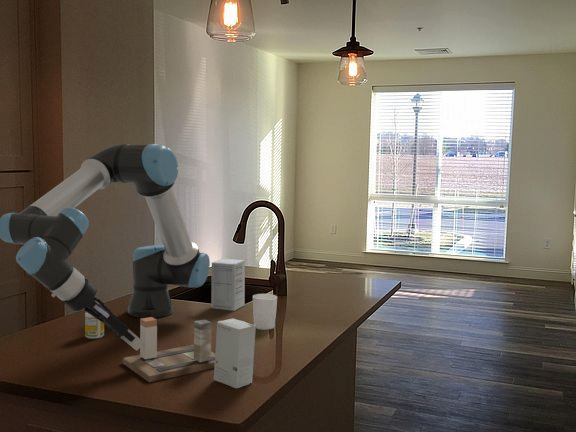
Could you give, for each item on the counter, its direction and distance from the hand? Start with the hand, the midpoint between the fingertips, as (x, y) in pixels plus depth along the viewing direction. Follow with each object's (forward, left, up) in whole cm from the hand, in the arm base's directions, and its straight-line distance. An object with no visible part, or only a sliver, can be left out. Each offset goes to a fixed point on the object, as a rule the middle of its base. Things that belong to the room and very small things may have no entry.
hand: (139, 345), depth 160 cm
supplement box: (-26, +61, -6) cm, 67 cm away
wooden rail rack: (+5, +7, -6) cm, 11 cm away
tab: (0, +3, -4) cm, 5 cm away
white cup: (0, +50, -6) cm, 51 cm away
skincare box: (+25, +8, -6) cm, 27 cm away
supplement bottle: (-31, +8, -6) cm, 32 cm away
